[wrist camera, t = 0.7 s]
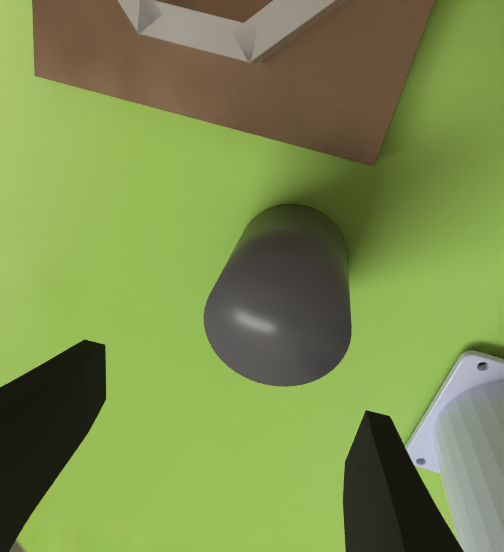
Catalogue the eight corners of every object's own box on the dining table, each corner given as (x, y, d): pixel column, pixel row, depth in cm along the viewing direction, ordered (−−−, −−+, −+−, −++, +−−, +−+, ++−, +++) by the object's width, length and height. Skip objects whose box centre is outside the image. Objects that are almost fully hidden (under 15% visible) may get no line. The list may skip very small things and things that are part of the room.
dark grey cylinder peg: (362, 221, 18) (374, 287, 13) (327, 314, 20) (324, 402, 15) (251, 190, 18) (217, 243, 13) (229, 286, 21) (193, 363, 15)
